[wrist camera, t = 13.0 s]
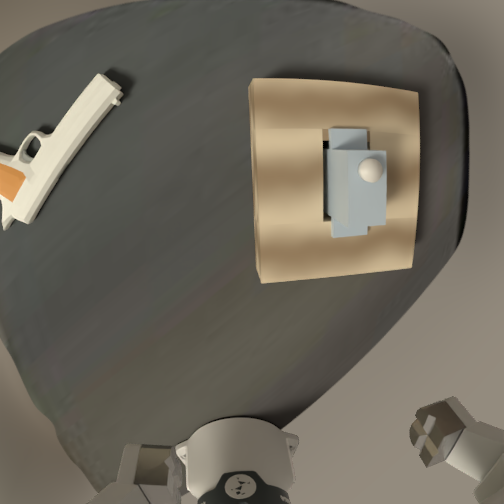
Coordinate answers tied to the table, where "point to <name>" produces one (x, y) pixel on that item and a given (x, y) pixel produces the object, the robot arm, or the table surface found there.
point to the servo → (353, 183)
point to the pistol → (52, 153)
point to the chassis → (311, 176)
